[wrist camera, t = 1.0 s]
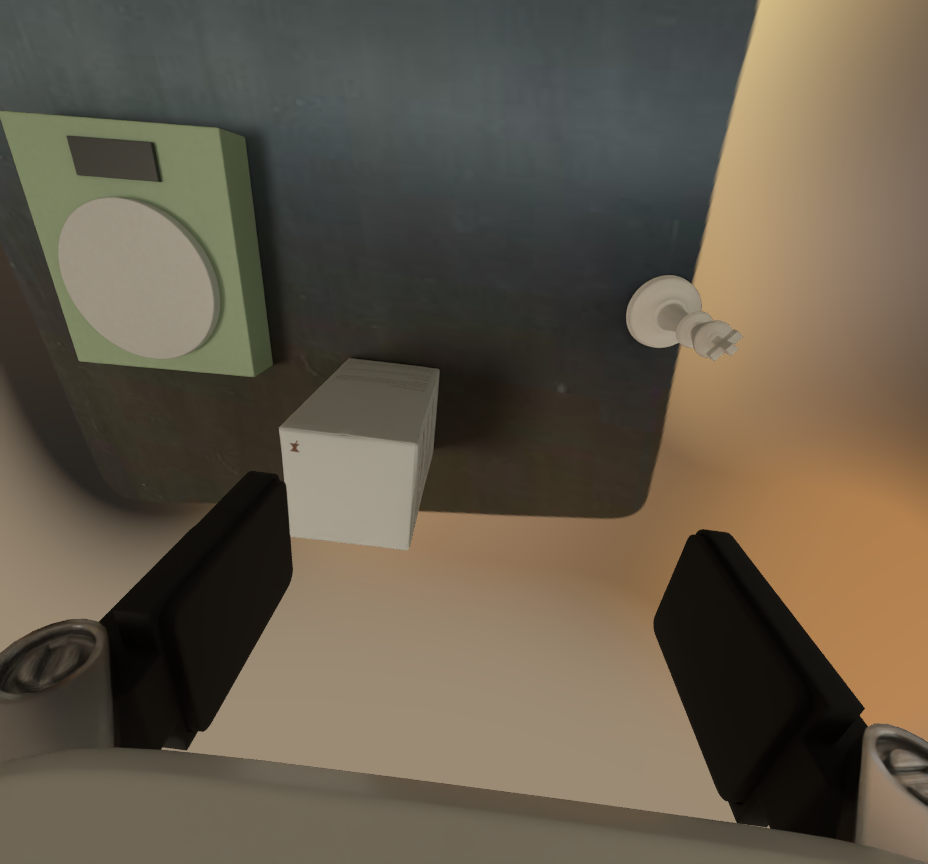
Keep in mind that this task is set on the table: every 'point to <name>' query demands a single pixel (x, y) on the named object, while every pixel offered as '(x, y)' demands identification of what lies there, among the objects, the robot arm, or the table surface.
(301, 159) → the table surface
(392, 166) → the table surface
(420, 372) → the white packaging box
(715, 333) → the chess piece
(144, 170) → the scale
